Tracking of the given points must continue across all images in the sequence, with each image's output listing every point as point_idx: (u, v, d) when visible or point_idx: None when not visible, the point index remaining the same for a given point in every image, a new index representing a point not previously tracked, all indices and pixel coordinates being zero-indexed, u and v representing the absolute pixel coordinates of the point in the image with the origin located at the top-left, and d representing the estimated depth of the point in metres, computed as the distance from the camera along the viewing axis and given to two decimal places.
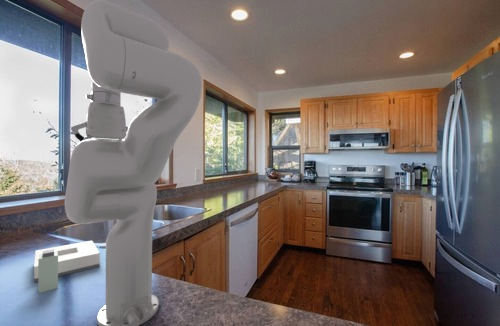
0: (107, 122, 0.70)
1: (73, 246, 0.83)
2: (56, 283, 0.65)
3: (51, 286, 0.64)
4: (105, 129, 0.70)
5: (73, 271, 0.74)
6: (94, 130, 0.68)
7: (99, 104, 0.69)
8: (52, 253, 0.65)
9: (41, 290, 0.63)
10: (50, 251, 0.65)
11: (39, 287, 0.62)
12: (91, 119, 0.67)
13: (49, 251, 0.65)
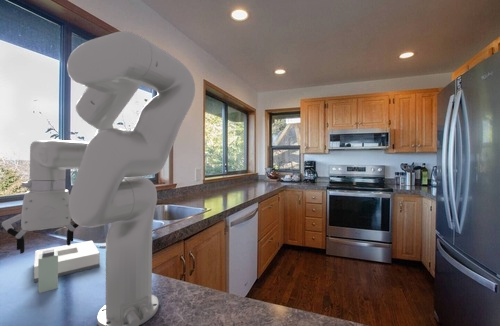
0: (46, 213, 0.63)
1: (73, 246, 0.83)
2: (56, 283, 0.65)
3: (51, 286, 0.64)
4: (44, 221, 0.63)
5: (73, 271, 0.74)
6: (30, 224, 0.61)
7: (37, 194, 0.62)
8: (52, 253, 0.65)
9: (41, 290, 0.63)
10: (50, 251, 0.65)
11: (39, 287, 0.62)
12: (26, 212, 0.60)
13: (49, 251, 0.65)
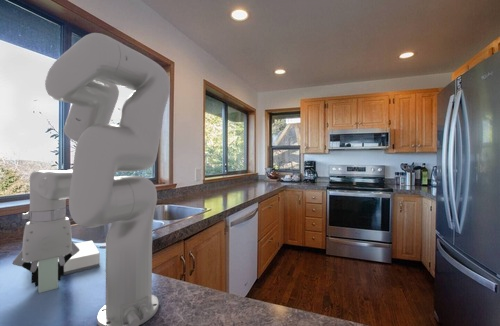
0: (47, 243, 0.63)
1: None
2: (56, 283, 0.65)
3: (51, 286, 0.64)
4: (45, 251, 0.62)
5: (73, 271, 0.74)
6: (31, 255, 0.61)
7: (37, 225, 0.62)
8: None
9: (41, 290, 0.63)
10: None
11: (39, 287, 0.62)
12: (27, 244, 0.60)
13: None
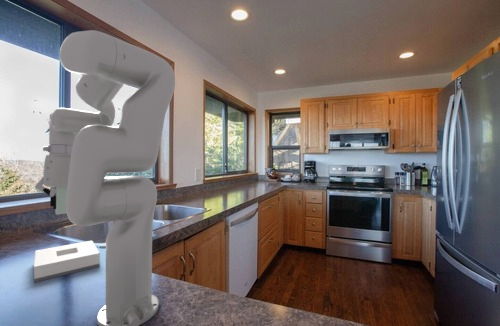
0: (64, 173, 0.74)
1: (73, 246, 0.83)
2: None
3: None
4: (62, 179, 0.74)
5: (73, 271, 0.74)
6: (50, 181, 0.72)
7: (56, 156, 0.73)
8: None
9: (58, 212, 0.74)
10: None
11: (57, 209, 0.74)
12: (47, 171, 0.71)
13: None
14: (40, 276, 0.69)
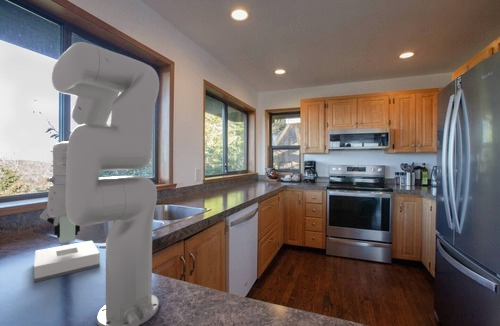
0: None
1: (73, 246, 0.83)
2: (74, 236, 0.79)
3: (70, 238, 0.78)
4: (65, 209, 0.76)
5: (73, 271, 0.74)
6: (54, 211, 0.74)
7: (59, 187, 0.75)
8: None
9: (62, 241, 0.77)
10: None
11: (60, 238, 0.76)
12: (51, 202, 0.74)
13: None
14: (40, 276, 0.69)
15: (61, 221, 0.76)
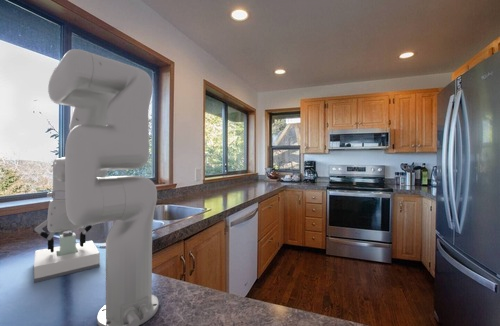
0: (67, 217, 0.77)
1: None
2: None
3: None
4: (65, 224, 0.76)
5: (73, 271, 0.74)
6: (54, 227, 0.75)
7: (59, 202, 0.75)
8: (71, 233, 0.79)
9: None
10: (69, 232, 0.79)
11: None
12: (51, 217, 0.74)
13: (68, 232, 0.79)
14: (40, 276, 0.69)
15: (61, 244, 0.76)
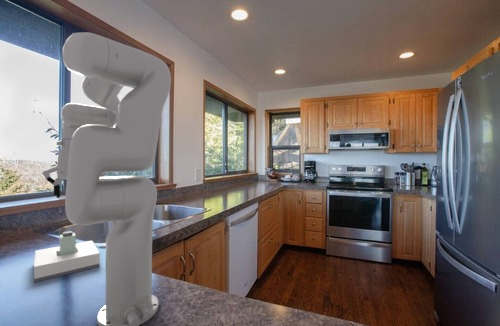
0: None
1: None
2: None
3: None
4: None
5: (73, 271, 0.74)
6: (64, 174, 0.76)
7: (69, 150, 0.77)
8: (71, 233, 0.79)
9: None
10: (69, 232, 0.79)
11: None
12: (61, 164, 0.75)
13: (68, 232, 0.79)
14: (40, 276, 0.69)
15: (61, 244, 0.76)
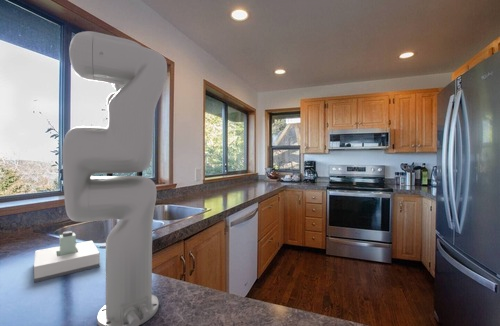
0: None
1: None
2: None
3: None
4: None
5: (73, 271, 0.74)
6: None
7: None
8: (71, 233, 0.79)
9: None
10: (69, 232, 0.79)
11: None
12: None
13: (68, 232, 0.79)
14: (40, 276, 0.69)
15: (61, 244, 0.76)
